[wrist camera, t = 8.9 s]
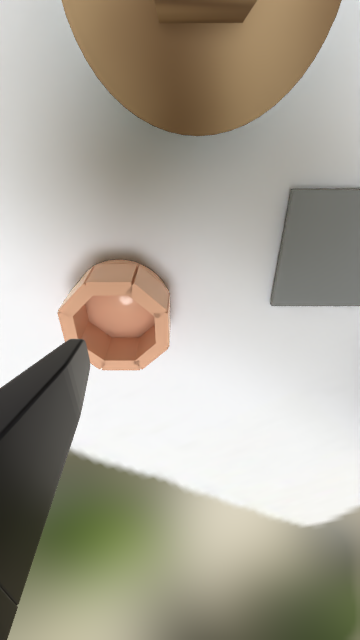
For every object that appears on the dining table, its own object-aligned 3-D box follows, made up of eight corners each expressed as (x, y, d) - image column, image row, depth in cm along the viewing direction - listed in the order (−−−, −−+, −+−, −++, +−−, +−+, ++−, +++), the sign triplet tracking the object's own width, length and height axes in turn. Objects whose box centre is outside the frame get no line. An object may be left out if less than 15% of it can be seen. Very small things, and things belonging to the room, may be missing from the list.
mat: (456, 188, 19) (461, 190, 18) (404, 303, 23) (407, 305, 23) (291, 189, 19) (293, 190, 18) (270, 303, 23) (271, 306, 23)
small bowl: (169, 259, 21) (167, 282, 18) (171, 340, 25) (169, 370, 22) (67, 259, 21) (49, 282, 18) (85, 340, 25) (72, 370, 22)
